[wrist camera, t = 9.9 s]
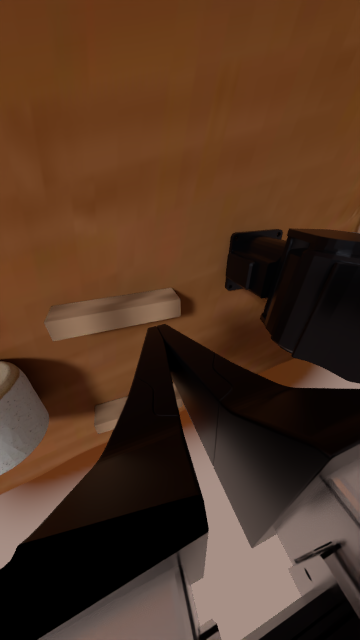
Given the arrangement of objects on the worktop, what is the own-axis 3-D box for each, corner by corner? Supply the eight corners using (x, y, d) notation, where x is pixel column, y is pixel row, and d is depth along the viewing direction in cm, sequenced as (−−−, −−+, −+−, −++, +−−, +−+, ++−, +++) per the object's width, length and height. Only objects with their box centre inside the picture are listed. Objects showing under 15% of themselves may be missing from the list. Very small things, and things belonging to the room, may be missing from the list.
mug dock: (171, 287, 21) (180, 299, 19) (176, 390, 31) (182, 406, 29) (51, 306, 18) (43, 322, 16) (98, 413, 28) (98, 434, 26)
